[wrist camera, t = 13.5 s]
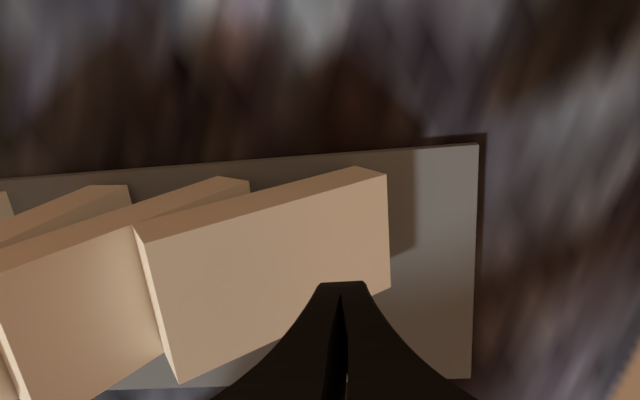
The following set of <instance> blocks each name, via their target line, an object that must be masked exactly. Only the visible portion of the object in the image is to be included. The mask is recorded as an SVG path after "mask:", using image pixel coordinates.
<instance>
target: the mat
mask: <svg viewBox="0 0 640 400" xmlns="http://www.w3.org/2000/svg"><path fill="white" fill-rule="evenodd" d="M478 163H479V144H477V143H476V142H472V143H459V144H446V145H433V146H419V147H406V148H393V149H380V150H367V151H354V152H341V153H328V154H314V155H301V156H288V157H275V158H262V159H249V160H236V161H223V162H209V163H196V164H183V165H170V166H157V167H144V168H131V169H118V170H104V171H91V172H78V173H65V174H52V175H39V176H26V177H13V178H0V192H3V191H6V193H7V196H8V198H9V201H10V204H11V207H12V210H13V213H14V215H18V214H20V213H22V212H25V211H27V210H30V209H32V208H35V207H37V206H40V205H42V204H45V203H47V202H49V201H52V200H54V199H57V198H59V197H62V196H64V195H67V194H69V193H72V192H74V191H76V190H79V189H81V188H84V187H86V186H89V185H127V187H128V191H129V195H130V198H131V202H132V204H135V203H138V202H141V201H144V200H147V199H150V198H153V197H156V196H159V195H162V194H165V193H168V192H171V191H174V190H177V189H180V188H183V187H186V186H189V185H192V184H195V183H198V182H201V181H204V180H207V179H210V178H212V177H215V176H223V177H229V178H235V179H241V180H247V181H249V186H250V193H253V192H256V191H260V190H264V189H268V188H272V187H275V186H279V185H283V184H287V183H291V182H294V181H298V180H302V179H306V178H310V177H314V176H317V175H321V174H325V173H329V172H333V171H336V170H340V169H344V168H348V167H352V166H358V167H362V168H366V169H369V170H373V171H377V172H381V173H384V174H387V200H388V225H389V251H390V277H391V287H390V288H388V289H386V290H383V291H381V292H379V293H377V294H375V295H373V296H372V298H373V300H374V301H375V303H376V305H377V306H378V308H379V309H380V311H381V312H382V314H383V315H384V316H385V318H386V319H387V321H388V322H389V323H390V325H391V326H392V327H393V328H394V330H395V331H396V332H397V333H398V334H399V336H400V337H401V338H402V339H403V340H404V341H405V342H406V344H407V345H408V346H409V347H410V348H411V349H412V350H413V351H414V352H415V353H416V354H417V355H418V356H419V357H420V358H422V359H423V360H424V361H425V362H426V363H427V364H428V365H429V366H431V367H432V368H433V369H434V370H436V371H437V372H438V373H439V374H441V375H442V376H443V377H445V378H446V379H465V378H471V359H472V331H473V303H474V275H475V247H476V219H477V191H478ZM280 339H281V338H280ZM280 339H278V340H275V341H273V342H271V343H269V344H267V345H265V346H262V347H260V348H258V349H256V350H254V351H252V352H250V353H247V354H245V355H243V356H241V357H239V358H237V359H234V360H232V361H230V362H228V363H226V364H224V365H221V366H219V367H217V368H215V369H213V370H211V371H208V372H206V373H204V374H202V375H200V376H198V377H196V378H193V379H191V380H189V381H187V382H185V383H183V384H180V385H179V384H178V382H177V379H176V377H175V375H174V373H173V371H172V368H171V366H170V364H169V362H168V359H167V357H166V355H165V353H163V354H161V355H160V356H158V357H156V358H155V359H153V360H152V361H150V362H149V363H147V364H146V365H144V366H142V367H141V368H139V369H138V370H136V371H135V372H133V373H132V374H130V375H128V376H127V377H125V378H124V379H122V380H121V381H119V382H117V383H116V384H114V385H113V386H111V387H110V388H108V389H107V390H127V389H158V388H189V387H219V386H230V385H232V384H233V383H234V382H236V381H237V380H238V379H239V378H241V377H242V376H243V375H244V374H245V373H247V372H248V371H249V370H250V369H251V368H253V367H254V366H255V365H256V364H257V363H259V362H260V361H261V360H262V359H263V358H264V357H265V356H266V355H267V354H268V353H269V352H270V351H271V350H272V348H273V347H274V346H275V345H276V344H277V343H278V342H279V341H280ZM346 382H348V376H347V379H346Z"/></svg>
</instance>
